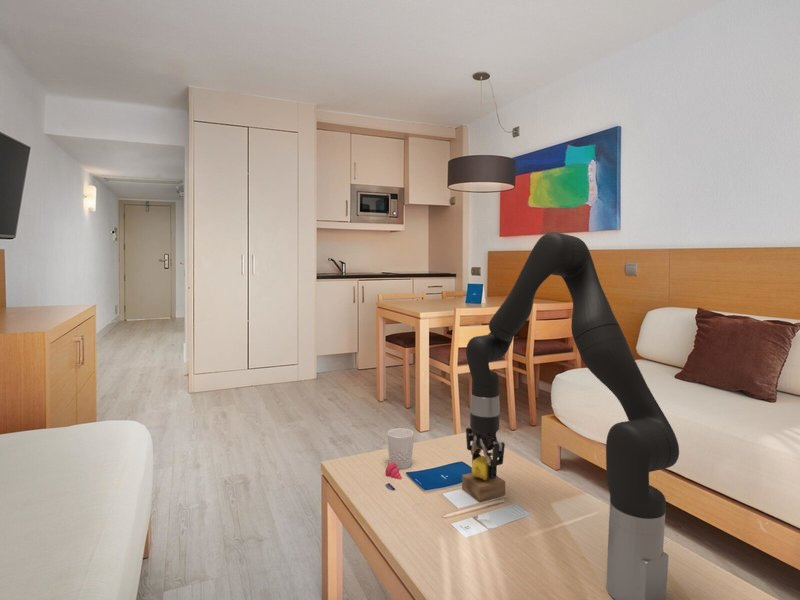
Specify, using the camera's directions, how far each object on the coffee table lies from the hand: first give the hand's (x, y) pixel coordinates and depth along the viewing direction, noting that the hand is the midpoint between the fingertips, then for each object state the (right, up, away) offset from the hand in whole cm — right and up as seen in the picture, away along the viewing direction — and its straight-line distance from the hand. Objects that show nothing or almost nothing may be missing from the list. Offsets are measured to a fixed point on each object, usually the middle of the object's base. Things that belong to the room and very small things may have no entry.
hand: (483, 473), depth 127 cm
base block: (0, -5, +1) cm, 5 cm away
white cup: (-22, -5, +20) cm, 30 cm away
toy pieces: (-22, -6, +8) cm, 24 cm away
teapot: (0, -1, 0) cm, 1 cm away
